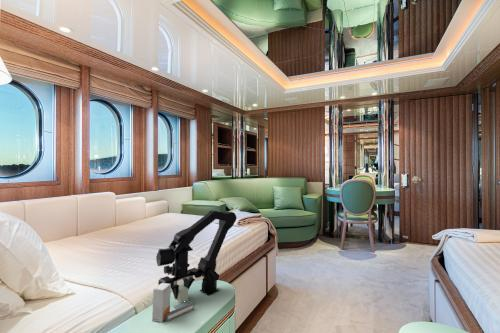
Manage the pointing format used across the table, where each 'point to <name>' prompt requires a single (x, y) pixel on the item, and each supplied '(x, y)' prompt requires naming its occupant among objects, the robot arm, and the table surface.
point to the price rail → (179, 312)
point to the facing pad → (182, 304)
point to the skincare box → (161, 301)
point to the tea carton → (182, 294)
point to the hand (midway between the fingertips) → (180, 297)
